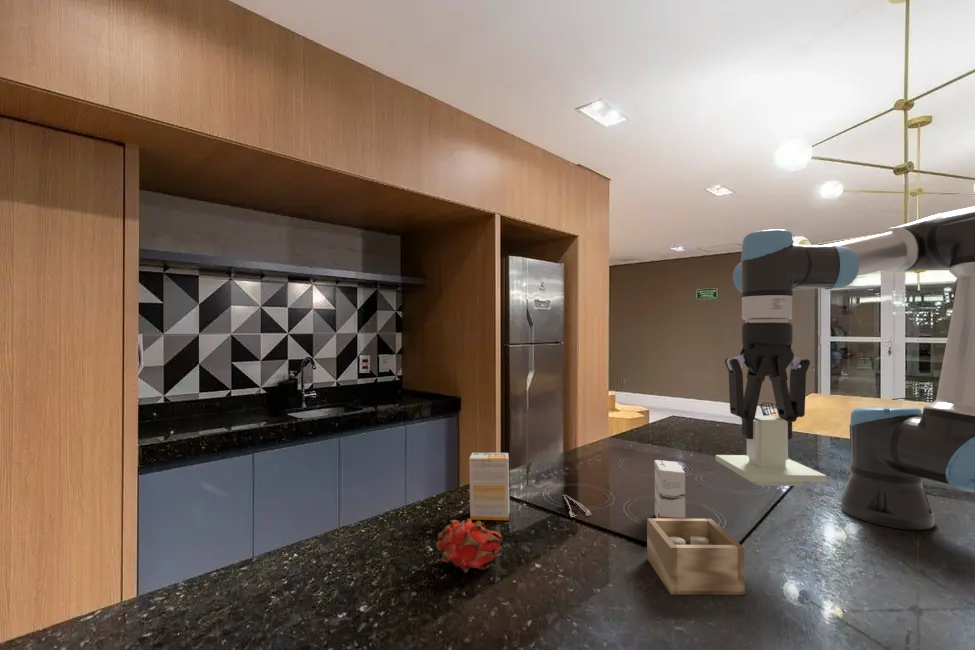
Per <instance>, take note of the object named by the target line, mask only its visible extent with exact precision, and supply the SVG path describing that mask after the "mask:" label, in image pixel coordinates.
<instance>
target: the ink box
mask: <svg viewBox="0 0 975 650" xmlns="http://www.w3.org/2000/svg"><path fill="white" fill-rule="evenodd" d="M654 515H655V518H668V519H686V472H685V471H684V469H683V468H682V467H681V465H680V463H679V462H678V461H672V460H671V461H670V460H660V459H655V460H654Z"/></svg>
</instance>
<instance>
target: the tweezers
mask: <svg viewBox="0 0 975 650" xmlns="http://www.w3.org/2000/svg"><path fill="white" fill-rule="evenodd" d="M562 496H564V497H563V498H564V500H565V502H566V505H567V507H568V506H569V507H568V510H569V509H570V510H569V512H568V514H569V516H570V518H572V517H574V518H576V517H575V516H577V517H578V515H577V514H576V515H575V513H574V512H572V507H571V505H570V502H569V501H568V500H570V501H571V500H572V501H573V502H574V503H573V502H572V501H571V502H572V503H573V504H575V503H576V504H577V505H578V506H579V507H580V508H581V509H582V510H583V511H584V512H586V513H585V517H586V516H589V515H591V516H592V512H591V511H590V510H589V509H588V508H586V507H585V506H584V505H583V504H582V503H580V502H578V501H577V500H575V499H573V498H571V496H568V495H567V494H563V495H562ZM566 496H567V497H568V498H569V499H568V498H567V497H566ZM576 504H575V505H576ZM577 505H576V506H577ZM580 508H579V509H580ZM581 509H580V510H581ZM582 510H581V511H582ZM583 511H582V512H583ZM584 512H583V513H584ZM573 515H574V516H573Z"/></svg>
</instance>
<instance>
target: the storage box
mask: <svg viewBox="0 0 975 650" xmlns="http://www.w3.org/2000/svg"><path fill="white" fill-rule="evenodd" d="M646 523H647V524H646V540H647V543H646V548H647V549H646V550H647V551H646V554H647V561H648V562H649V563H650V566H651V567H652V568H653V570H654V571H655V573H656V575H657V576H658V578H660V579H659V580H661V582H662V583H663V585H664V586H665V588H666V590H667V591H668V592H669V594H670V595H678V596H679V595H683V596H684V595H685V596H686V595H695V596H697V595H698V596H699V595H700V596H701V595H703V596H704V595H708V596H713V595H714V596H716V595H717V596H724V595H725V596H726V595H727V596H738V595H739V596H744V595H746V593H745V592H746V591H745V589H746V588H745V579H746V578H745V576H746V574H745V547H743V545H742V544H741V543H739V542H738V541H737V540H736V539H734V537H732V536H731V535H730V534H729V533H728V532H727V531H726V530H725V529H723V528H722V527H721V526H720V525H719V524H718V523H717V522H716V521H714V519H712V518H685V519H668V518H656V517H655V518H651V517H650V518H649V517H648V518H646Z"/></svg>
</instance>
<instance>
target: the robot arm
mask: <svg viewBox="0 0 975 650" xmlns="http://www.w3.org/2000/svg"><path fill="white" fill-rule="evenodd" d="M740 261H741V262H739V263H738V264H737V265H736V266H735V267H734V269H733V273H732V281H733V284H734V287H735V288H736V289H737V291H739V292H740V293H741V319H742V320H743V321H745V323H742V324H743V325H741V344H742V348H741V351H740V353H739V355H737V356H734V357H732V358H730V357H727V358H725V360H724V365H725V366H726V369H727V371H728V387H729V389H728V391H729V413H730V414H731V415H734V416H736V417H739V418H740V419H741V435H742V437H743V438H744V439H746V455H747V456H748V457H750V458H752V459H754V460H760V442H759V421H757V420H754V419H755V416H757V415H756V414H757V410H758V404H759V399H760V396H761V389H762V384H763V382H764V381H765V379H766V377H767V376H768V378H769V379H768V380H770V382H771V386H772V391H773V395H774V400H775V405H776V411H777V414H778V418H780V419H784V420H786V460H788V459H789V452H788V451H789V440H792V438H793V422H794V423H795V422H796V421H797V419H798V418H803V417H804V416H805V413H806V389H807V388H806V384H807V371H809V367H810V365H811V362H810V360H809V359H806V358H801V357H798V356H796V355H795V354H794V351H793V350H792V344H793V339H794V337H793V333H794V332H793V324H792V323H790V322H789V321H790V320H792V319H793V295H794V294H793V292H794V291H795V292H796V291H803V290H805V291H806V290H813V289H815V290H816V289H817V290H818V289H824V290H832V289H842V288H845V287H848V286H849V285H851V284H852V283H853V282H855V280H856V278H857V276H860V275H866V274H871V273H877V272H882V271H885V272H889V273H901V272H907V271H917V270H918V271H919V270H920V271H921V270H946V269H947V270H948V272H949V273H951V275H952V276H954V278H956V279H957V283H956V289H955V295H954V299H953V306H952V312H951V315H950V316H951V317H950V321H949V327H948V333H947V339H946V344H945V349H944V355H943V360H942V366H941V370H940V377H939V381H938V388H937V394H936V399H935V400H934V401H932V402H931V403H928V404H927V405H925V406H923V410H921V409H920V408H918V407H911V406H909V407H907V406H866V407H865V406H862V407H856V408H854V409H853V410H852V411H851V412H850V423H849V446H850V447H849V448H850V451H849V452H850V475H849V477H848V481H847V483H846V486H845V488H844V491H843V493H842V495H841V497H840V502H841V504H840V508H841V509H842V511H843V512H844V513H845V514H848V515H849V516H851V517H853V518H855V519H858V520H861V521H863V522H867V523H870V524H874V525H878V526H883V527H886V528H887V527H888V528H894V529H901V530H911V531H912V530H913V531H921V530H923V531H924V530H930V529H932V528H934V526H935V513H934V511H933V509H932V508H931V507H932V506H931V505H930V500H929V498H928V495H927V494H926V491H925V488H924V487H923V479H925V480H929V481H932V482H936V483H939V484H941V485H946V486H949V487H952V488H953V489H955V490H961V491H965V492H972V493H975V205H973V206H968V207H964V208H959V209H954V210H951V211H944V212H939V213H937V214H934V215H930V216H927V217H924V218H921V219H919V220H918V219H917V220H914V221H912V222H908V223H905V224H904V223H903V224H902V225H898V226H894V227H893V226H892V227H888V228H885V229H883V230H881V231H880V232H879V233H878V234H875V235H870V236H865V237H860V238H854V239H849V240H848V239H847V240H843V241H839V242H833V243H827V244H822V245H819V244H797V243H794V239H793V233H792V231H789V230H786V229H764V230H758V231H754V232H750V233H748V234H746V235H745V236H744V237H743V240H742V245H741V258H740ZM743 364H744V365H745V366H746V368H747V372H746V380H747V381H746V386H745V390H744V376H743V375H744V373H743V370H742V369H743V368H744V365H743ZM789 367H790V370H789V371H790V373H789V378H788V373H787V368H789ZM788 380H789V386H788Z"/></svg>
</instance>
